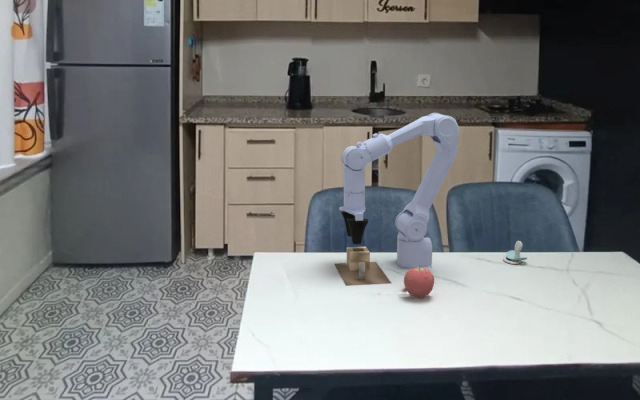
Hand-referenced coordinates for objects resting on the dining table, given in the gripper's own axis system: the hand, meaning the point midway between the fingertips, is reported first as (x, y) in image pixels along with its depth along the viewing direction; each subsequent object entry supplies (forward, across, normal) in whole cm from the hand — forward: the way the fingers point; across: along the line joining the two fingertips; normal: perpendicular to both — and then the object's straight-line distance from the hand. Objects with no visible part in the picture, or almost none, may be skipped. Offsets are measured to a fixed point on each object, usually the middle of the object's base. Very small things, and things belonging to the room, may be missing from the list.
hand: (354, 239), depth 184 cm
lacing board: (+9, +5, +1) cm, 11 cm away
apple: (+10, +20, +12) cm, 26 cm away
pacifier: (+10, -3, +48) cm, 49 cm away
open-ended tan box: (+8, 0, +1) cm, 8 cm away
